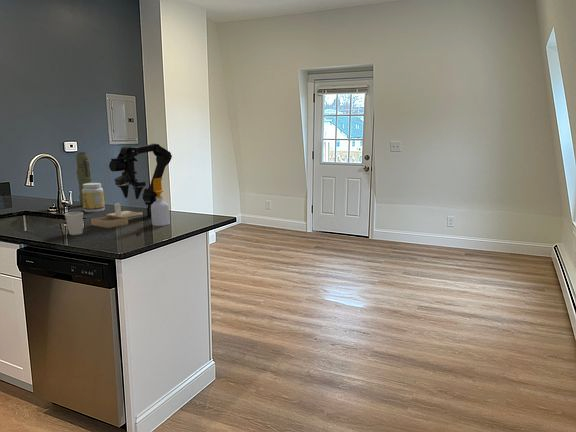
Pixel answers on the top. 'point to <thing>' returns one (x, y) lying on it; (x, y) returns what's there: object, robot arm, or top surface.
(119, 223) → the carton
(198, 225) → the top surface
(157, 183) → the soap bottle
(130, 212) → the carton lid
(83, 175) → the green cactus
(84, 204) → the supplement tub
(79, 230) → the dixie cup
